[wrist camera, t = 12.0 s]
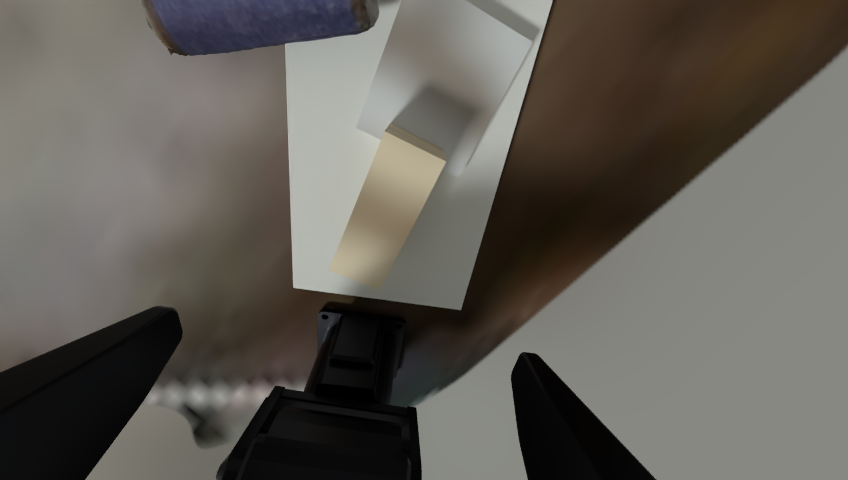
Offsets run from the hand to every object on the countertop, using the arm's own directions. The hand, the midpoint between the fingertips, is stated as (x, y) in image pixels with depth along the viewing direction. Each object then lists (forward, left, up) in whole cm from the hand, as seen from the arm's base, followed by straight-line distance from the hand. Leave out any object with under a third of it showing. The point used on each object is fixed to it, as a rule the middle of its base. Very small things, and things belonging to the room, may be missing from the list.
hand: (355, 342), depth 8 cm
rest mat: (+2, 0, -12) cm, 12 cm away
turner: (+3, -1, -11) cm, 12 cm away
